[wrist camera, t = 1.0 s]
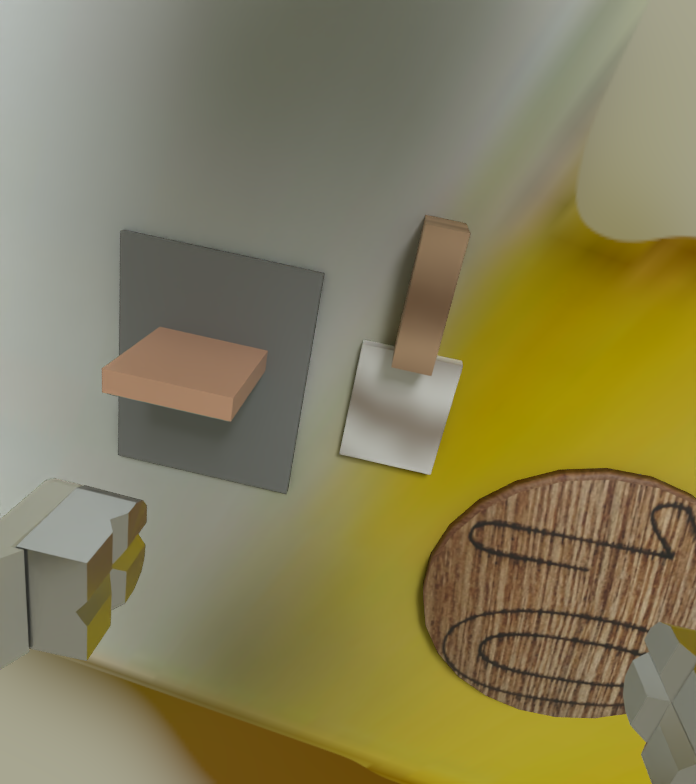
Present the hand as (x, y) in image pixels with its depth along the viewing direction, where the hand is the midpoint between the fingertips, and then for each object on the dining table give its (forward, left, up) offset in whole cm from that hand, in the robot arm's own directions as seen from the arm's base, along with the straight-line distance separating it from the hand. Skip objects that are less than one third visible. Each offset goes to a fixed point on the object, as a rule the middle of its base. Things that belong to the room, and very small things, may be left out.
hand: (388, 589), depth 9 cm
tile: (+10, -13, -30) cm, 34 cm away
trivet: (+25, +19, -31) cm, 44 cm away
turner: (+7, +1, -31) cm, 31 cm away
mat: (+12, -13, -31) cm, 35 cm away
